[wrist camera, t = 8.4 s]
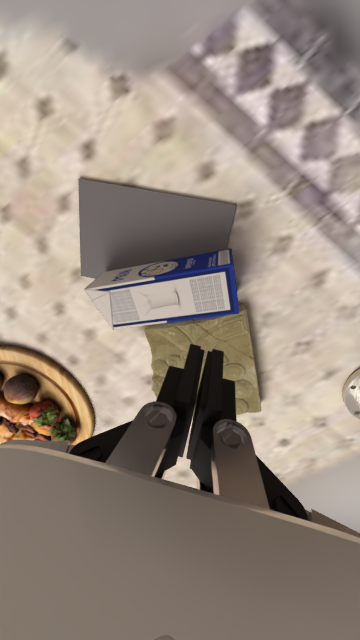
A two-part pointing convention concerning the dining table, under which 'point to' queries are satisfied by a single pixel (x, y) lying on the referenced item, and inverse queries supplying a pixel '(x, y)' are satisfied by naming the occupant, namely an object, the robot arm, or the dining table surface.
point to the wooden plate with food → (41, 400)
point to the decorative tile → (209, 334)
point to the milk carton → (167, 291)
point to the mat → (145, 227)
